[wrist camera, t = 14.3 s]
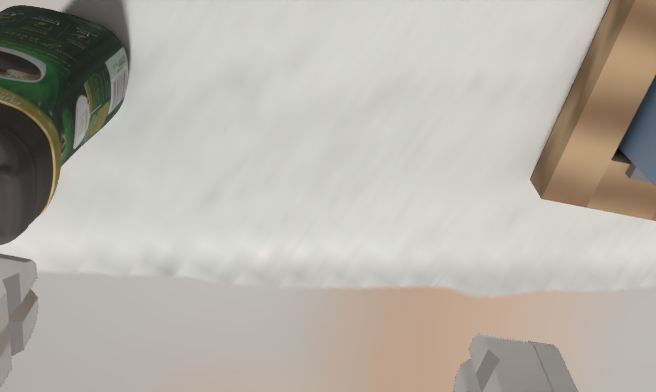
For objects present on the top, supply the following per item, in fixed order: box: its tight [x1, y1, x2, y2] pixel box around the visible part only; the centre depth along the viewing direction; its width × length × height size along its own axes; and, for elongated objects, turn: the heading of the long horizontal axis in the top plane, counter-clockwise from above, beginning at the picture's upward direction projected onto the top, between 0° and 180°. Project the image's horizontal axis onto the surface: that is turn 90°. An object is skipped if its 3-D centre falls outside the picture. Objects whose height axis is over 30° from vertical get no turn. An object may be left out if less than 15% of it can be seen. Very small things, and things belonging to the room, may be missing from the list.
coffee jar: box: [0, 5, 128, 245], centre depth 36 cm, size 10×8×19 cm
